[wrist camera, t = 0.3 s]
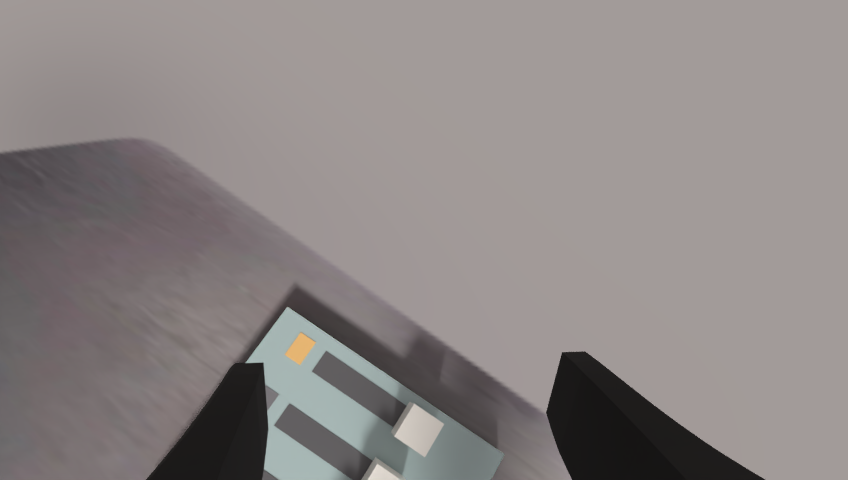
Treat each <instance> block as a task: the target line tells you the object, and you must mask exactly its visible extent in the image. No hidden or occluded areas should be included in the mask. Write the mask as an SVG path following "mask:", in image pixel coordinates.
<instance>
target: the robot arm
mask: <svg viewBox="0 0 848 480" xmlns="http://www.w3.org/2000/svg"><path fill="white" fill-rule="evenodd" d="M546 414H547V417H548V420H549V423H550V426H551V430H552V433H553V436H554V439H555V441H556V444H557V447H558V450H559V453H560V455H561V457H562V459H563V461H564V463H565V466H566V468H567V470H568V472H569V474H570V476H571V478H572V480H765V479H763V478H762V477H760V476H758V475H756V474H755V473H753V472H751V471H749V470H748V469H746V468H745V467H743V466H742V465H740V464H738V463H737V462H735V461H733V460H732V459H730V458H729V457H727V456H725V455H724V454H722V453H721V452H719V451H718V450H716V449H714V448H713V447H712V446H710V445H708V444H707V443H705V442H704V441H703V440H701V439H700V438H698V437H697V436H695V435H694V434H692V433H691V432H690V431H688V430H687V429H685V428H684V427H683V426H681V425H680V424H678V423H677V422H676V421H674V420H673V419H672V418H670V417H669V416H667V415H666V414H665V413H664V412H662V411H661V410H660V409H658V408H657V407H656V406H654V405H653V404H652V403H650V402H649V401H648V400H646V399H645V398H644V397H643V396H641V395H640V394H639V393H638V392H636V391H635V390H634V389H632V388H631V387H630V386H629V385H627V384H626V383H625V382H624V381H622V380H621V379H620V378H618V377H617V376H616V375H615V374H614V373H612V372H611V371H610V370H609V369H607V368H606V367H605V366H603V365H602V364H601V363H600V362H598V361H597V360H596V359H594V358H593V357H592V356H590V355H589V354H588V353H586V352H562V355H561V359H560V363H559V366H558V370H557V374H556V378H555V382H554V385H553V389H552V393H551V397H550V401H549V404H548V408H547V412H546ZM267 437H268V415H267V402H266V389H265V375H264V362H262V363H235V364H234V365H233V366H232V367H230V369H229V371H228V372H227V374H226V376H225V377H224V379H223V380H222V382H221V383H220V385H219V386H218V388H217V389H216V391H215V392H214V394H213V395H212V397H211V398H210V400H209V401H208V402H207V404H206V405H205V407H204V408H203V409H202V411H201V412H200V414H199V415H198V416H197V417H196V419H195V420H194V421H193V423H192V424H191V425H190V427H189V428H188V429H187V431H186V432H185V433H184V435H183V436H182V437H181V439H180V440H179V441H178V442H177V444H176V445H175V446H174V447H173V448H172V450H171V451H170V452H169V453H168V454H167V456H166V457H165V458H164V459H163V460H162V462H161V463H160V464H159V465H158V466H157V468H156V469H155V470H154V471H153V472H152V473H151V475H150V476H149V477H148V478H147V479H146V480H262V477H263V472H264V464H265V455H266V447H267Z"/></svg>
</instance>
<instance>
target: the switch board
mask: <svg viewBox="0 0 848 480" xmlns="http://www.w3.org/2000/svg"><path fill="white" fill-rule="evenodd" d="M262 362H264V375H265V389H266V402H267V415H268V437H267V447H266V455H265V464H264V472H263V477H262V480H361V479H362V478H363V476H364V474H365V473H366V471H367V470H368V468H369V466H370V465H371V463H372V461H373V460H374V458H375V457H376V458H378V459H379V460H381V461H382V462H383V463H385V464H386V465H388V466H389V467H391V468H392V469H394V470H395V471H397V472H398V473H399V474H401V475H402V476H404V478H405V479H406V480H491V479H492V477H493V475H494V473H495V471H496V470H497V468H498V466H499V464H500V462H501V460H502V458H503V456H504V453H502V452H501V451H499V450H498V449H496V448H495V447H493V446H492V445H490V444H489V443H487V442H486V441H484V440H483V439H481V438H480V437H479V436H477V435H476V434H474V433H473V432H471V431H470V430H468V429H467V428H465V427H464V426H462V425H461V424H459V423H458V422H456V421H455V420H454V419H452V418H451V417H449V416H448V415H446V414H445V413H443V412H442V411H440V410H439V409H437V408H436V407H434V406H433V405H431V404H430V403H428V402H427V401H426V400H424V399H423V398H421V397H420V396H418V395H417V394H415V393H414V392H412V391H411V390H409V389H408V388H406V387H405V386H403V385H402V384H401V383H399V382H398V381H396V380H395V379H393V378H392V377H390V376H389V375H387V374H386V373H384V372H383V371H381V370H380V369H378V368H377V367H375V366H374V365H373V364H371V363H370V362H368V361H367V360H365V359H364V358H362V357H361V356H359V355H358V354H356V353H355V352H353V351H352V350H350V349H349V348H348V347H346V346H345V345H343V344H342V343H340V342H339V341H337V340H336V339H334V338H333V337H331V336H330V335H328V334H327V333H325V332H324V331H322V330H321V329H320V328H318V327H317V326H315V325H314V324H312V323H311V322H309V321H308V320H306V319H305V318H303V317H302V316H300V315H299V314H297V313H296V312H295V311H293V310H292V309H290V308H289V307H287V308H286V309H285V311H284V312H283V313H282V315H281V316H280V317H279V319H278V320H277V321H276V323H275V324H274V325H273V327H272V328H271V329H270V331H269V332H268V333H267V335H266V336H265V337H264V339H263V340H262V341H261V343H260V344H259V345H258V347H257V348H256V349H255V351H254V352H253V353H252V355H251V356H250V357H249V359H248V360H247V361H246V363H262ZM409 402H411V403H414V404H416V405H417V406H418V407H420V408H421V409H423V410H424V411H426V412H427V413H429V414H430V415H432V416H433V417H435V418H436V419H438V420H439V421H441V422H442V423H443V424H444V425H443V427H442V429H441V431H440V432H439V434H438V436H437V437H436V439H435V441H434V443H433V444H432V446H431V448H430V450H429V451H428V453H427V455H426V456H425V457H424V456H422V455H421V454H419V453H418V452H416V451H415V450H413V449H412V448H410V447H409V446H407V445H406V444H405V443H403V442H402V441H400V440H399V439H397V438H396V437H394V435H393V434H392V433H391V431H392V429H393V427H394V426H395V424H396V423H397V421H398V419H399V418H400V416H401V414H402V413H403V411H404V410H405V408H406V406H407V405H408V403H409Z"/></svg>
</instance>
